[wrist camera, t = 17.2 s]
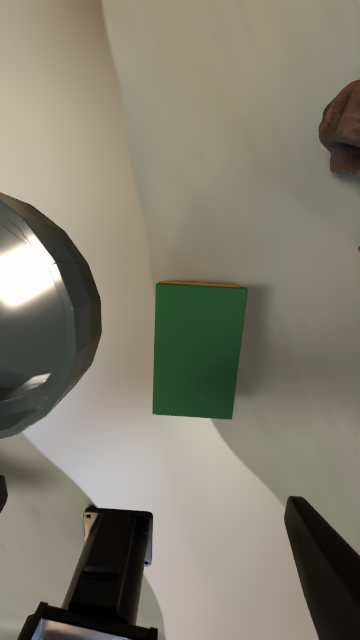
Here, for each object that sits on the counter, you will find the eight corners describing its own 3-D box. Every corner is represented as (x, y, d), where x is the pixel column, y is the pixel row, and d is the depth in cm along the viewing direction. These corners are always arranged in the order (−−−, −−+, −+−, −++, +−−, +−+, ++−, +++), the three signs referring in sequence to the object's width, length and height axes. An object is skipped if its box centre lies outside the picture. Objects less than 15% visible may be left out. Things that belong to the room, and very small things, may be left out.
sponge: (224, 395, 18) (232, 420, 15) (157, 391, 18) (152, 414, 15) (236, 284, 16) (248, 288, 13) (161, 280, 16) (155, 283, 13)
